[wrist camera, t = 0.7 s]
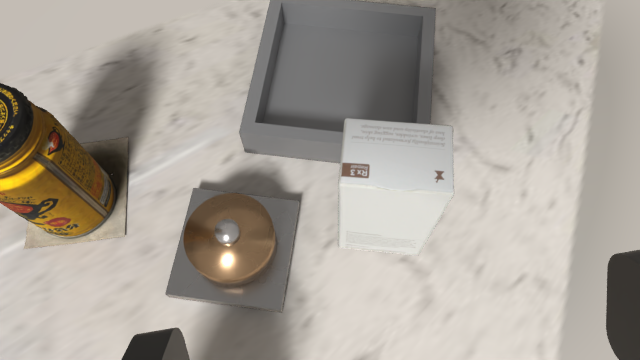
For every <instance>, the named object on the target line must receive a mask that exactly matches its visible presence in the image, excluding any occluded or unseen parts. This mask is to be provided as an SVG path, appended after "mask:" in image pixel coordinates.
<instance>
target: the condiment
mask: <svg viewBox="0 0 640 360" xmlns="http://www.w3.org/2000/svg"><path fill="white" fill-rule="evenodd" d="M127 164H128V137H125V138H118V139H112V140H106V141H98V142H91V143H81V144H79V143H78V142H77V141H76V140H75V138H74V137H73V136H72V135H71V134H70V133H69V132H68V131H67V130H66V129H65V128H64V126H62V125H61V124H60V123H59V121H58V120H57V119H56V118H55V117H54V116H53V115H52V114H51V113H49V112H48V111H47V110H45V109H43V108H40V107H38V106H35V105H34V104H33V103H32V102H30V101H29V100H28V99H27V97H26V96H24V94H23V93H22V92H20V91H18V90H17V89H16V88H11V87H9V86H6V85H4V84H1V83H0V203H1V204H3V205H4V206H6V207H7V208H9V209H10V210H12V211H14V212H15V213H17V214H18V215H19V216H21V217H23V218H25V219H26V220H27V221H28V228H27V236H26V242H25V246H24V249H28V248H36V247H45V246H55V245H64V244H72V243H80V242H88V241H96V240H102V239H109V238H117V237H125V219H126V200H127V196H126V194H127ZM111 174H113V175H111Z"/></svg>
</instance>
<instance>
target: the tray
mask: <svg viewBox="0 0 640 360" xmlns="http://www.w3.org/2000/svg"><path fill="white" fill-rule="evenodd" d="M435 12H436V8H426V7H416V6H405V5H395V4H385V3H374V2H364V1H353V0H270V3H269V8H268V12H267V16H266V20H265V25H264V29H263V33H262V37H261V42H260V46H259V50H258V55H257V59H256V63H255V67H254V72H253V76H252V80H251V84H250V89H249V93H248V97H247V101H246V106H245V110H244V114H243V118H242V123H241V127H240V131H239V134H240V137H241V140H242V143H243V147H244V150H245V152H248V153H256V154H265V155H273V156H282V157H291V158H299V159H308V160H316V161H325V162H333V163H340V161H341V151H342V141H343V129H344V121H345V119H346V118H350V119H363V120H376V121H390V122H404V123H419V124H430V119H431V97H432V76H433V55H434V33H435Z"/></svg>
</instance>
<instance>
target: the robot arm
mask: <svg viewBox="0 0 640 360" xmlns="http://www.w3.org/2000/svg"><path fill="white" fill-rule="evenodd" d="M606 330H607V336H608V339H609V342H610V345H611V347H612V349H613V351H614V353H615V355H616V356H617V358H618V359H619V360H640V250H636V251H630V252H625V253H619V254H614V255H613V256H612V257H611V258H610V261H609V263H608V272H607V315H606ZM122 360H190V359H189V355H188V352H187V348H186V344H185V340H184V337H183V334H182V332H181V331H180V329H179V328H171V329H165V330H159V331H153V332H148V333H142V334H137V335H135V336H134V337H133V338H132V340H131V342H130V344H129V346H128V348H127V350H126V352H125V354H124V356H123V358H122Z"/></svg>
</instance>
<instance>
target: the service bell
mask: <svg viewBox="0 0 640 360" xmlns="http://www.w3.org/2000/svg"><path fill="white" fill-rule="evenodd" d="M298 212H299V201H296V200H288V199H279V198H271V197H263V196H255V195H247V194H239V193H230V192H222V191H214V190H206V189H198V188H193V192H192V196H191V199H190V203H189V207H188V211H187V215H186V218H185V222H184V226H183V230H182V233H181V237H180V241H179V245H178V248H177V252H176V256H175V260H174V263H173V267H172V271H171V275H170V279H169V282H168V286H167V290H166V295H167V296H169V297H172V298H179V299H186V300H194V301H201V302H208V303H215V304H223V305H230V306H237V307H245V308H252V309H259V310H267V311H274V312H281V313H282V310H283V304H284V298H285V292H286V286H287V279H288V273H289V267H290V261H291V255H292V249H293V243H294V237H295V231H296V224H297V218H298Z"/></svg>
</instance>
